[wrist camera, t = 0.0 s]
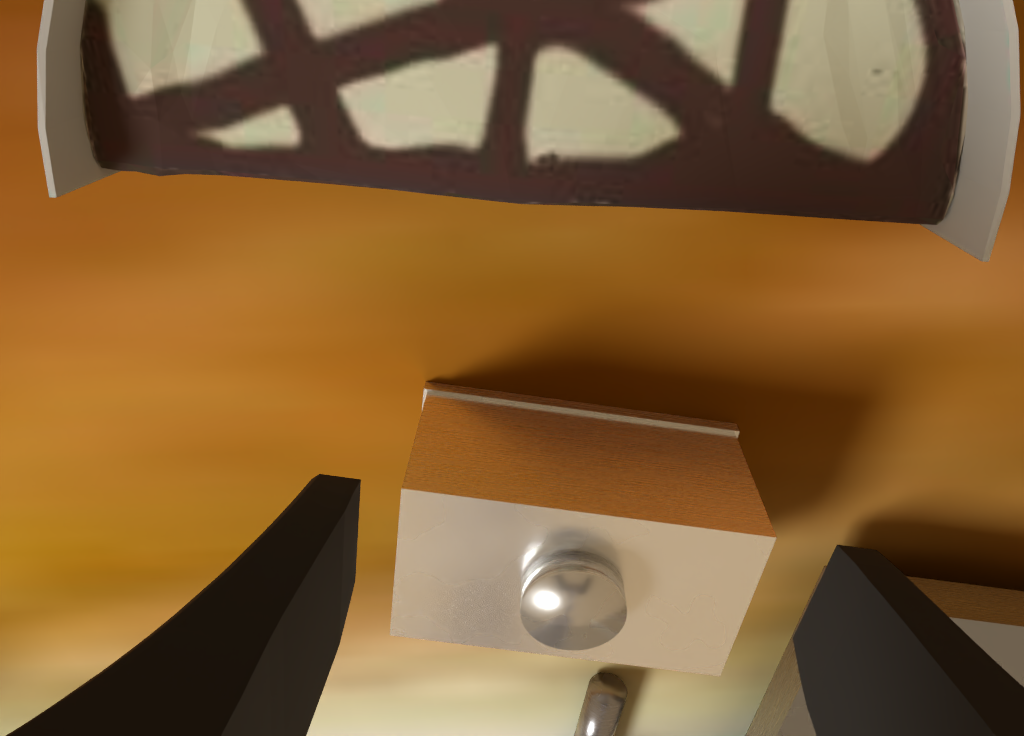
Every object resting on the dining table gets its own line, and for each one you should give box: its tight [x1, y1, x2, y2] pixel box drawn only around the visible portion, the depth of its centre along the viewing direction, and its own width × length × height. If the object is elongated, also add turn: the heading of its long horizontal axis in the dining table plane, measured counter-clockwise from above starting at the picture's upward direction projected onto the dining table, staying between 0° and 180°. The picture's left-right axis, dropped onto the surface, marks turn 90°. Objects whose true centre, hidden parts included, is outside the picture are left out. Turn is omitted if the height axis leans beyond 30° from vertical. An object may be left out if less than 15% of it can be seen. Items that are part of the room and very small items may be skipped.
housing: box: [390, 381, 777, 676], centre depth 21 cm, size 5×9×6 cm, turn 82°
